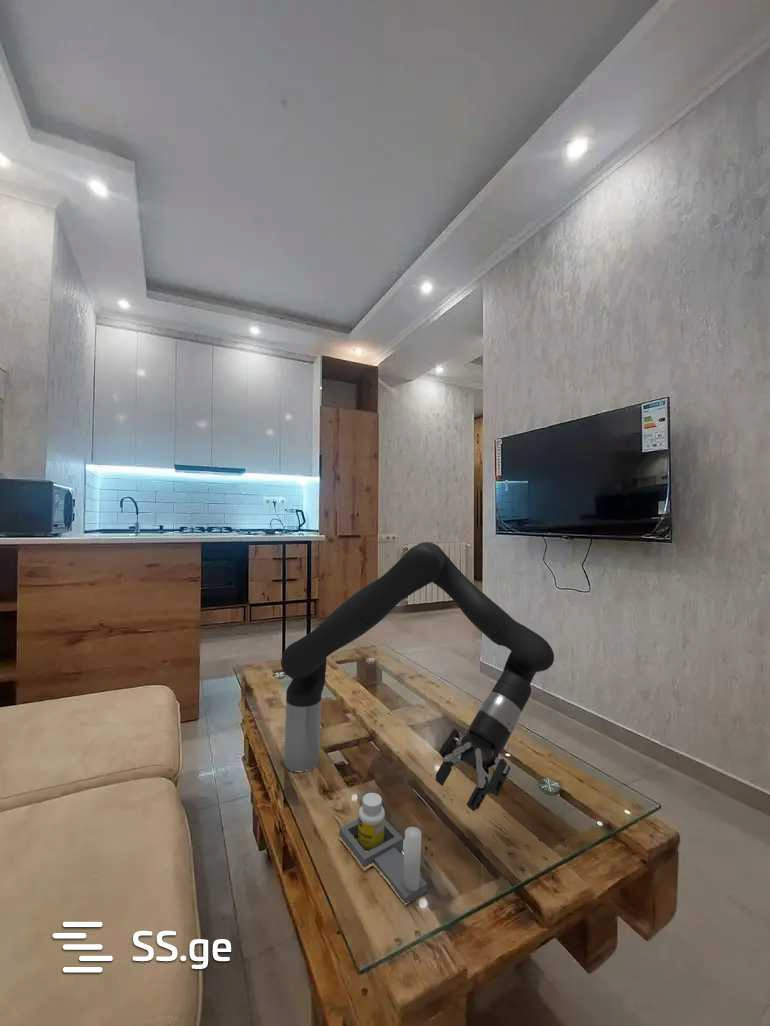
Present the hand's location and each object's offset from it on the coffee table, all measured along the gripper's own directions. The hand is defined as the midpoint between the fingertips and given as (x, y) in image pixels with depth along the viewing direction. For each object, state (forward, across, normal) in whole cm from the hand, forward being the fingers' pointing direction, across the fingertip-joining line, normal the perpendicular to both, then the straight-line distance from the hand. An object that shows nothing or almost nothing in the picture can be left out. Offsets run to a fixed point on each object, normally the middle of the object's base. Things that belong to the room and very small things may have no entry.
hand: (453, 795), depth 83 cm
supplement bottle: (+17, -13, +3) cm, 22 cm away
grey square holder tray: (+17, -8, +3) cm, 19 cm away
